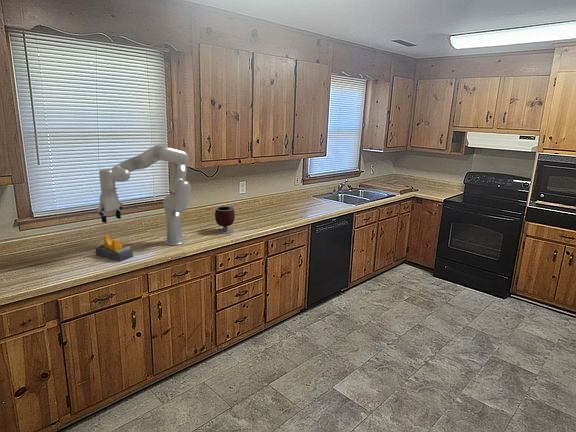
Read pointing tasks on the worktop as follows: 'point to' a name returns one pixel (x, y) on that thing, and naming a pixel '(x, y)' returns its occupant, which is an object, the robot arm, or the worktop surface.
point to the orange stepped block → (112, 243)
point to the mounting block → (114, 253)
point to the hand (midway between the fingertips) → (111, 220)
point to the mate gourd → (225, 218)
